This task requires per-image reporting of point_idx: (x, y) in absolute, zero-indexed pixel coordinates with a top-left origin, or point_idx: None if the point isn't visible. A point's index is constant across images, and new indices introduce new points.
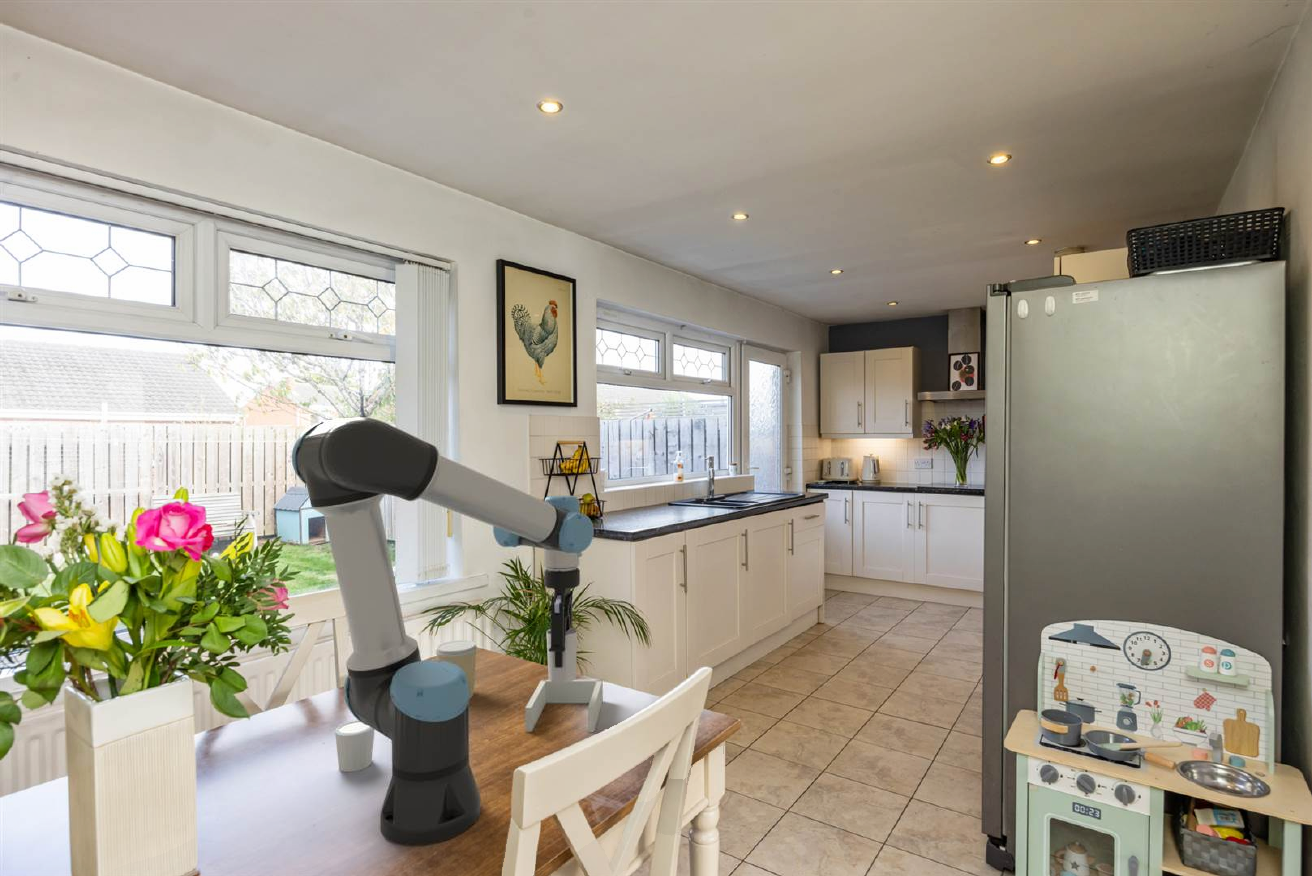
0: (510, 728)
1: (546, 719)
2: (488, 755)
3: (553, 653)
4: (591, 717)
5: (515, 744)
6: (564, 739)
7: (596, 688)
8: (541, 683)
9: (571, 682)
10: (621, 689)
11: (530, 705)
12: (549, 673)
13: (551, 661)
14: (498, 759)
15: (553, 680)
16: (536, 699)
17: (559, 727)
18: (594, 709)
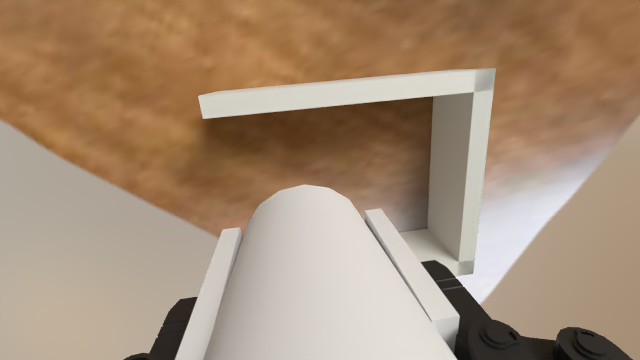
0: (237, 30)
1: (316, 126)
2: (29, 23)
3: (179, 351)
4: None
5: (131, 86)
6: (197, 209)
7: None
8: (453, 81)
9: (463, 185)
10: (512, 261)
11: (225, 108)
12: (263, 214)
13: (235, 273)
14: (17, 67)
15: (221, 237)
16: (301, 108)
17: (267, 177)
18: None
